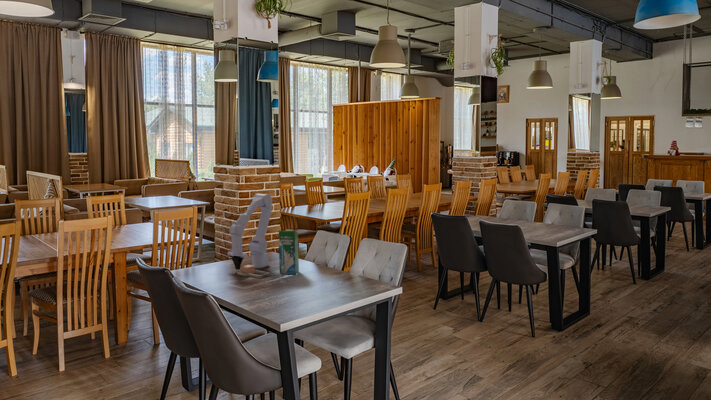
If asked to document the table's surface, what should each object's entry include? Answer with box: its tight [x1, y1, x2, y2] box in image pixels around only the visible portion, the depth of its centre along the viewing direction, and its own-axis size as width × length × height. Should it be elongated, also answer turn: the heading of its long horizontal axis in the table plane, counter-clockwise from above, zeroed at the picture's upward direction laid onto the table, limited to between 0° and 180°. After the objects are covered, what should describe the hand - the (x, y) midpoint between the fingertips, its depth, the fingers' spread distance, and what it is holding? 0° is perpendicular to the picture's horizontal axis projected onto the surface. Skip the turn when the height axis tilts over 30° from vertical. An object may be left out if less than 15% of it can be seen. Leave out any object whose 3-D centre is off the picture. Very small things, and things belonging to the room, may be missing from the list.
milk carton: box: [278, 228, 300, 276], centre depth 302 cm, size 9×9×25 cm
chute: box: [236, 269, 272, 279], centre depth 296 cm, size 11×18×2 cm, turn 53°
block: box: [240, 264, 256, 274], centre depth 299 cm, size 6×5×4 cm
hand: (237, 269), depth 304 cm, fingers closed
